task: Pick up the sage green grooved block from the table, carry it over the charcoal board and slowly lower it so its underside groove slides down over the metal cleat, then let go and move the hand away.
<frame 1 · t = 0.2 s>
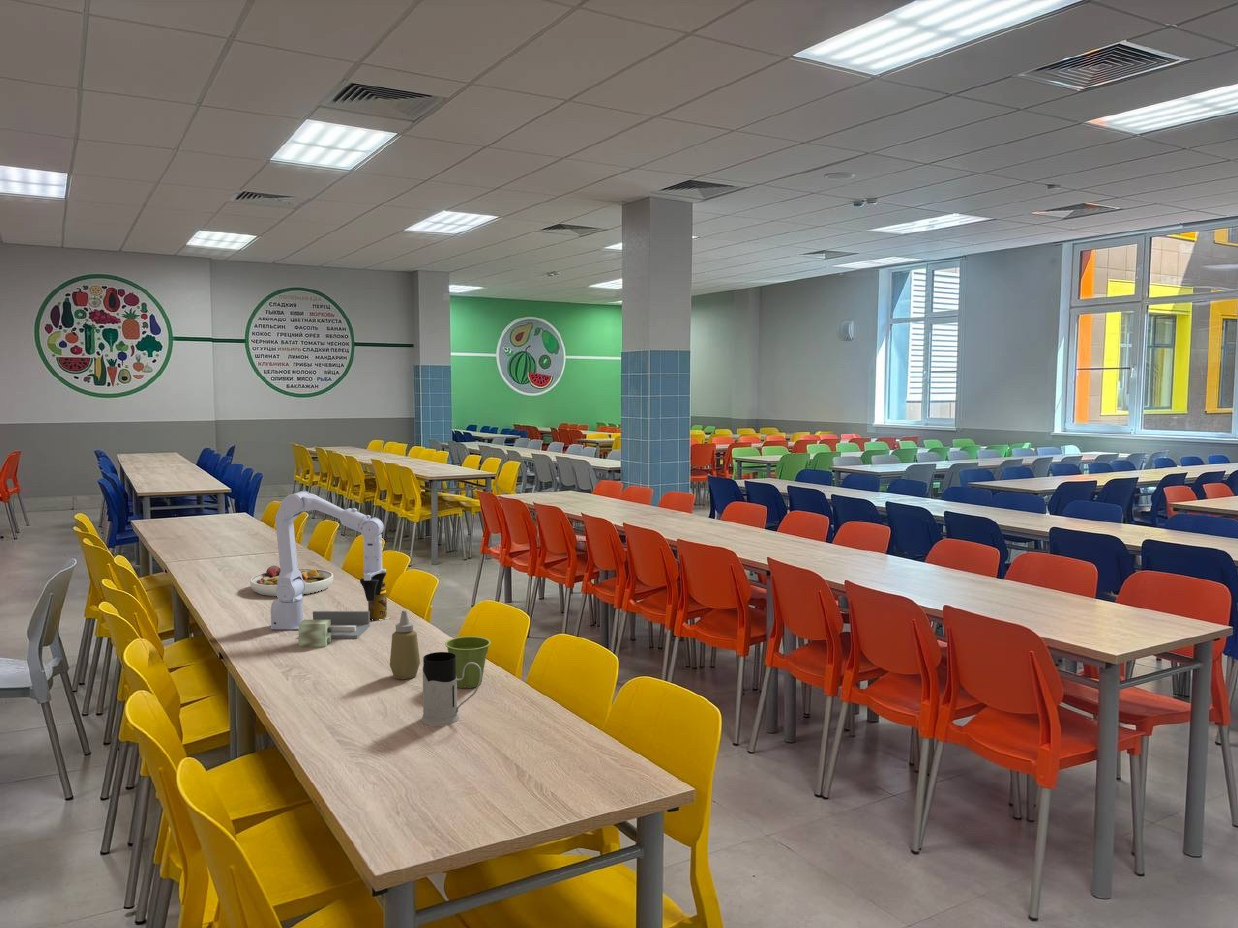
hand: (373, 597, 278), 10 cm above the table, tool pointing down, fingers open, 7 cm apart
condiment: (375, 618, 291), on the table
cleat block: (315, 644, 261), on the table
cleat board: (335, 632, 274), on the table
bowl: (292, 590, 332), on the table
plant pot: (468, 684, 227), on the table
squeeze bottle: (405, 677, 232), on the table
glass holder: (451, 719, 203), on the table
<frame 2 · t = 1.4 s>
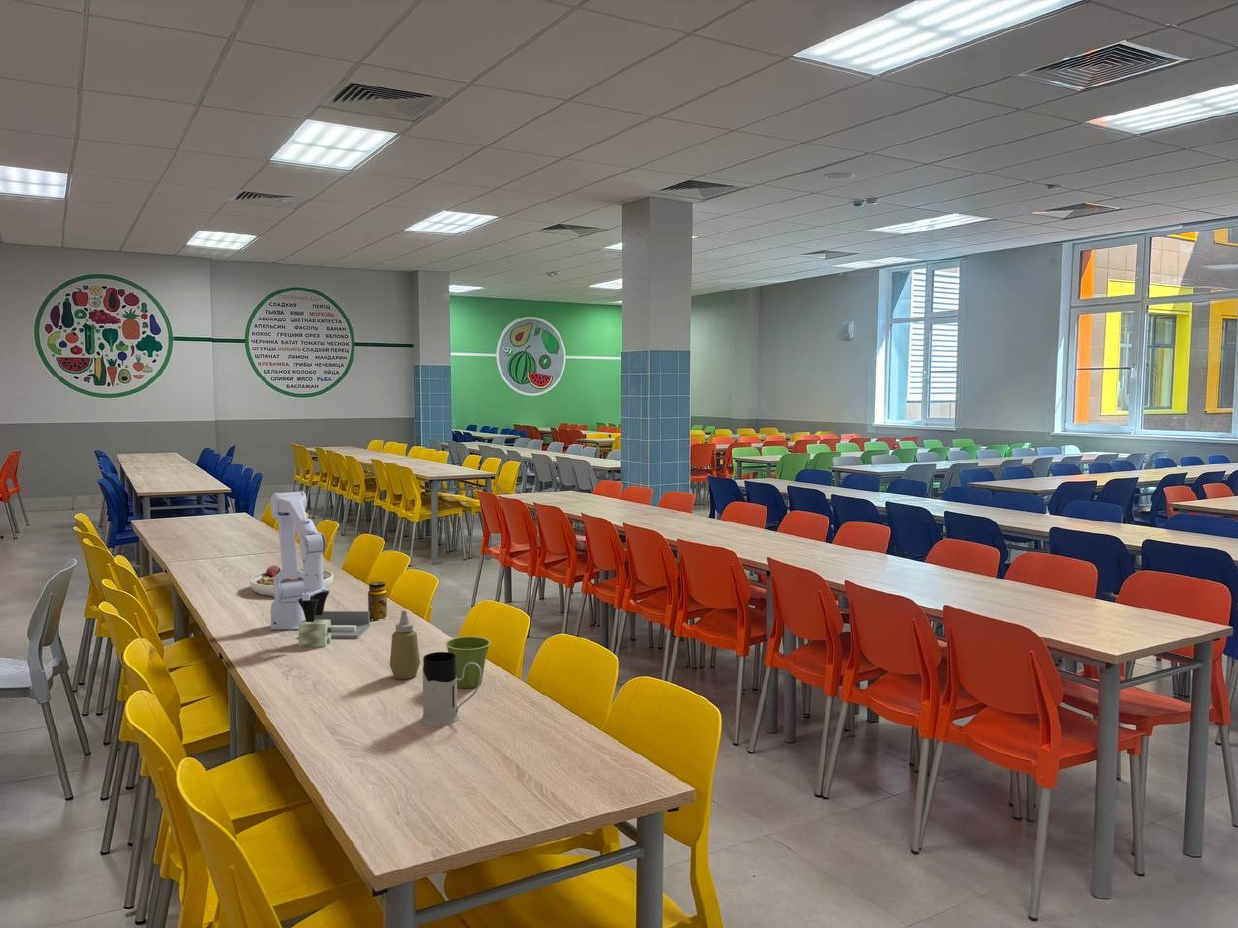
hand: (314, 618, 260), 8 cm above the table, tool pointing down, fingers open, 7 cm apart
nothing on the table moved.
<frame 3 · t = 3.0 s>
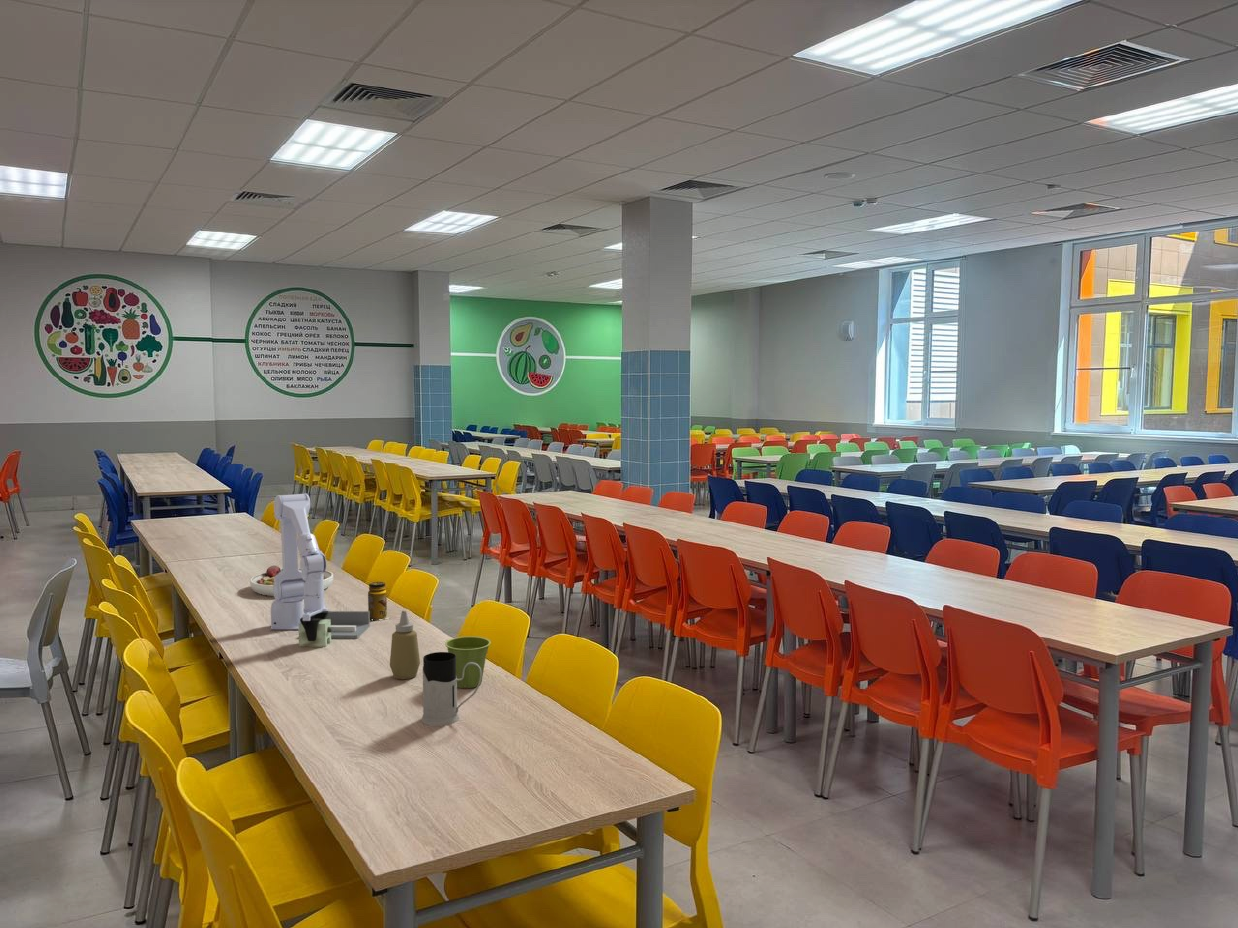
hand: (315, 637, 261), 2 cm above the table, tool pointing down, fingers closed on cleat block, 5 cm apart
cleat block: (315, 644, 261), on the table, touching gripper
everything else where it was.
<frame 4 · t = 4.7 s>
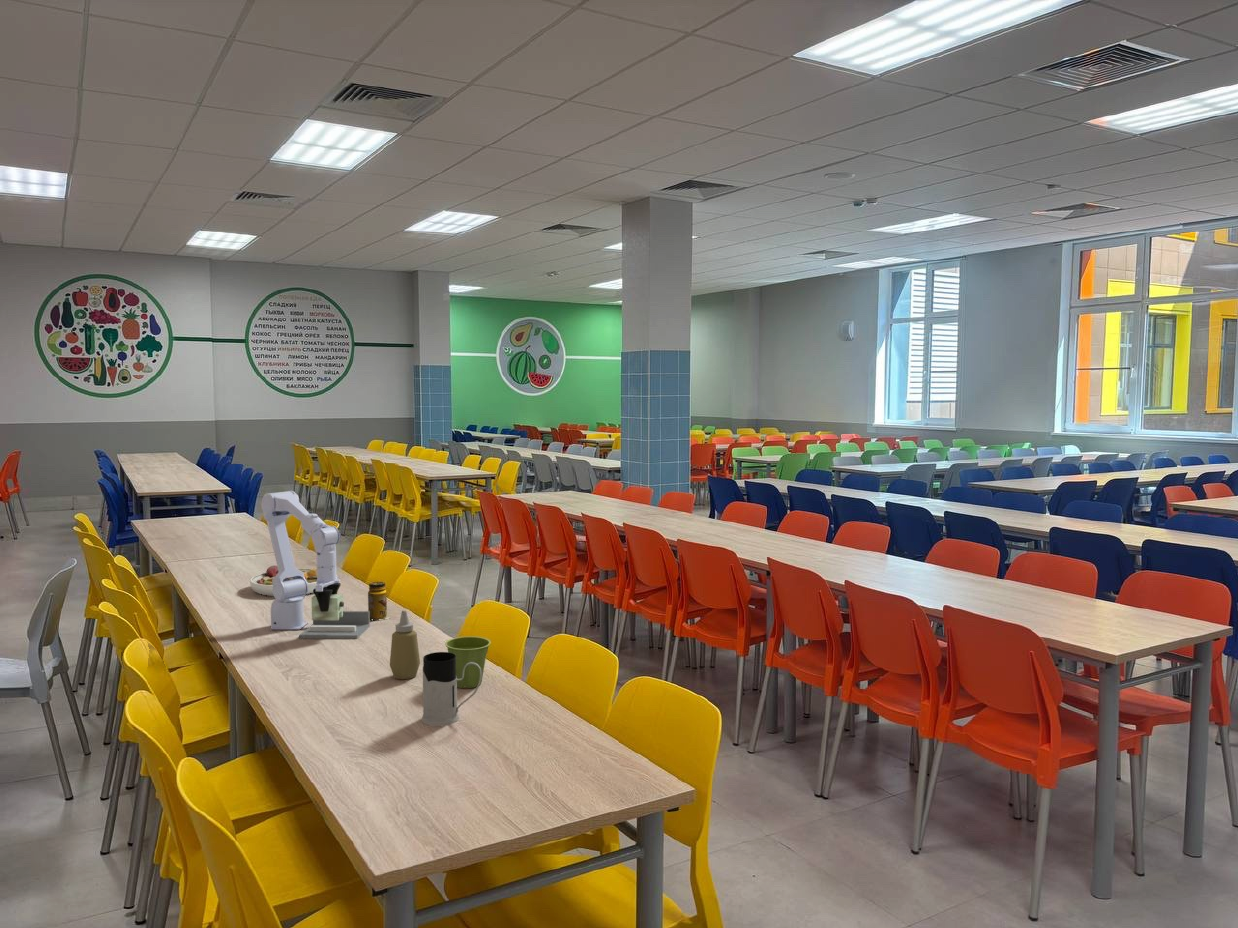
hand: (327, 608, 268), 9 cm above the table, tool pointing down, fingers closed on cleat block, 5 cm apart
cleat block: (327, 618, 268), point 6 cm above the table, touching gripper
everything else where it was.
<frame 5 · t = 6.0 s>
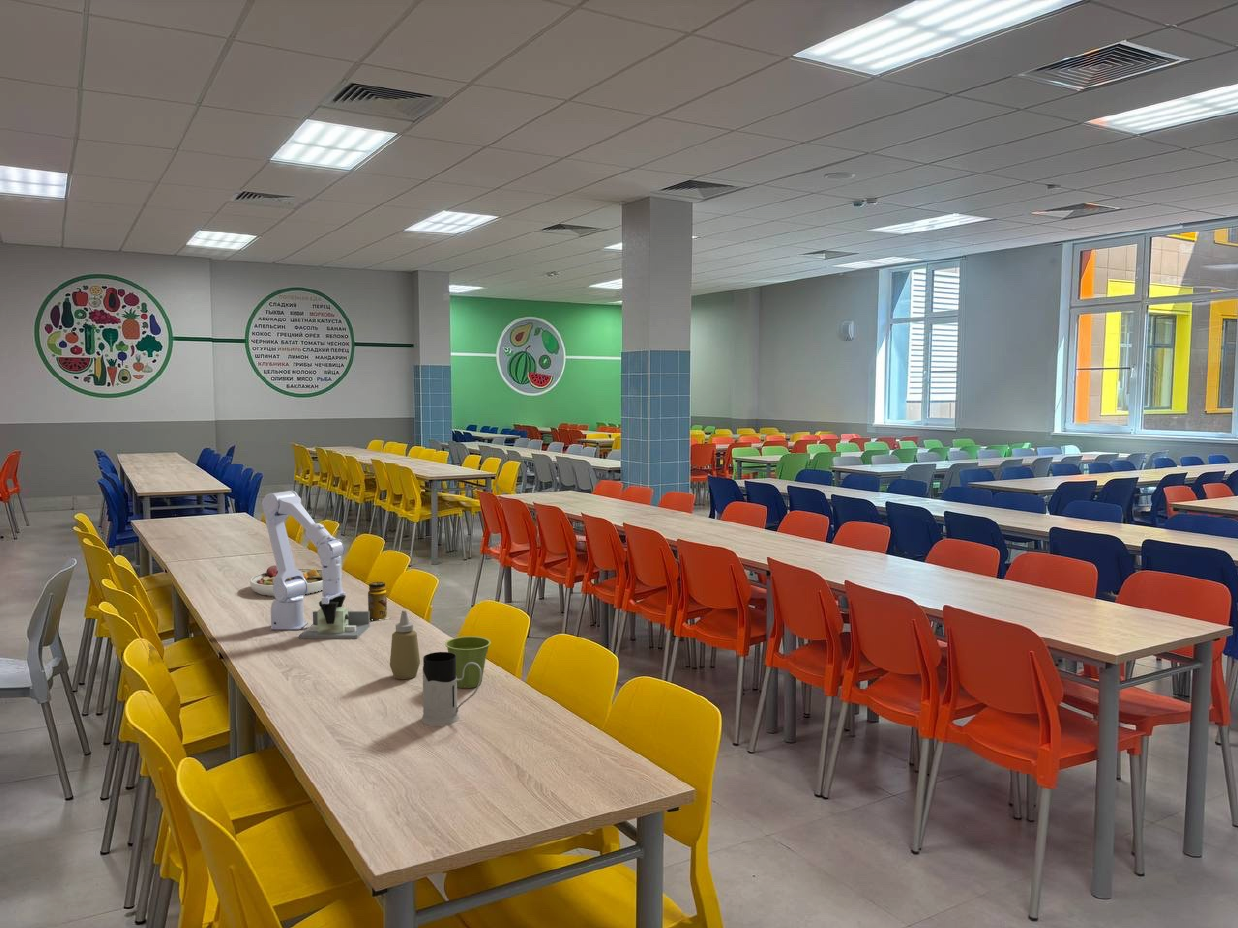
hand: (333, 620, 271), 4 cm above the table, tool pointing down, fingers closed on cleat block, 5 cm apart
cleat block: (333, 630, 272), point 1 cm above the table, touching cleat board, gripper
everything else where it was.
when the fingers open (4 cm above the table, at t = 6.6 s): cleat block stays where it is, resting on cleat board.
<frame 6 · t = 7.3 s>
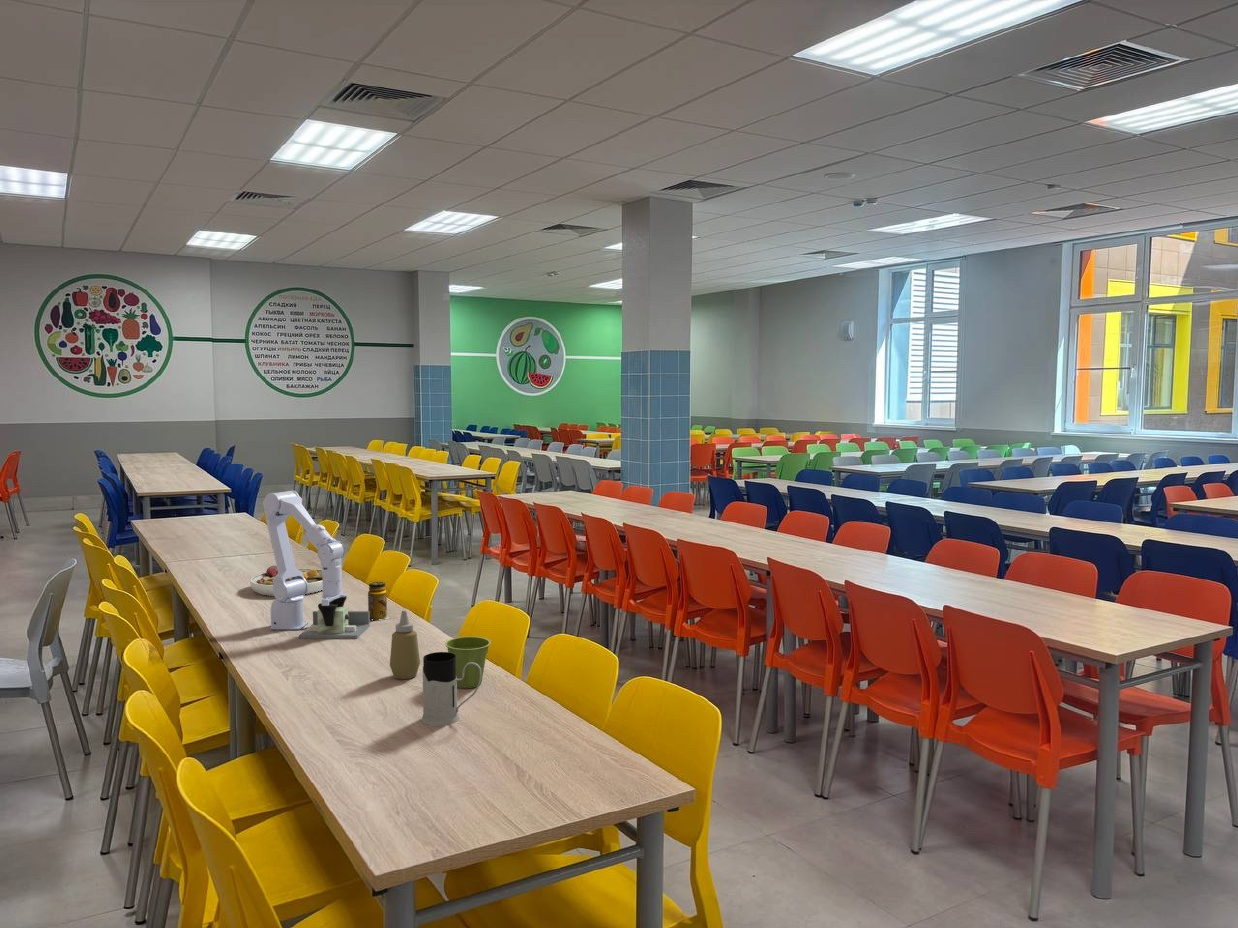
hand: (333, 622, 271), 4 cm above the table, tool pointing down, fingers open, 7 cm apart
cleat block: (333, 630, 272), point 1 cm above the table, touching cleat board
everything else where it was.
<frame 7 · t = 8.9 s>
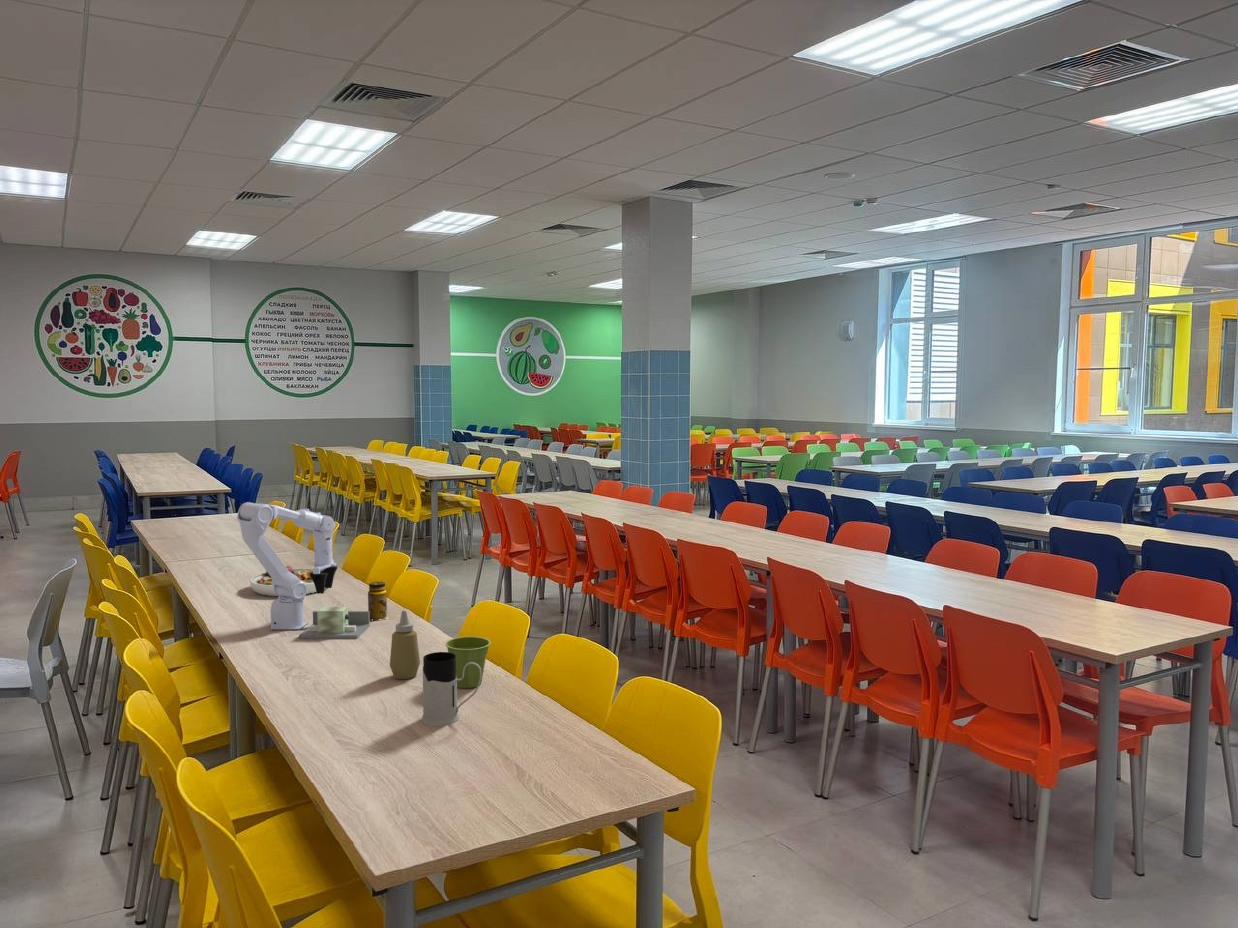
hand: (324, 590, 289), 9 cm above the table, tool pointing down, fingers open, 7 cm apart
nothing on the table moved.
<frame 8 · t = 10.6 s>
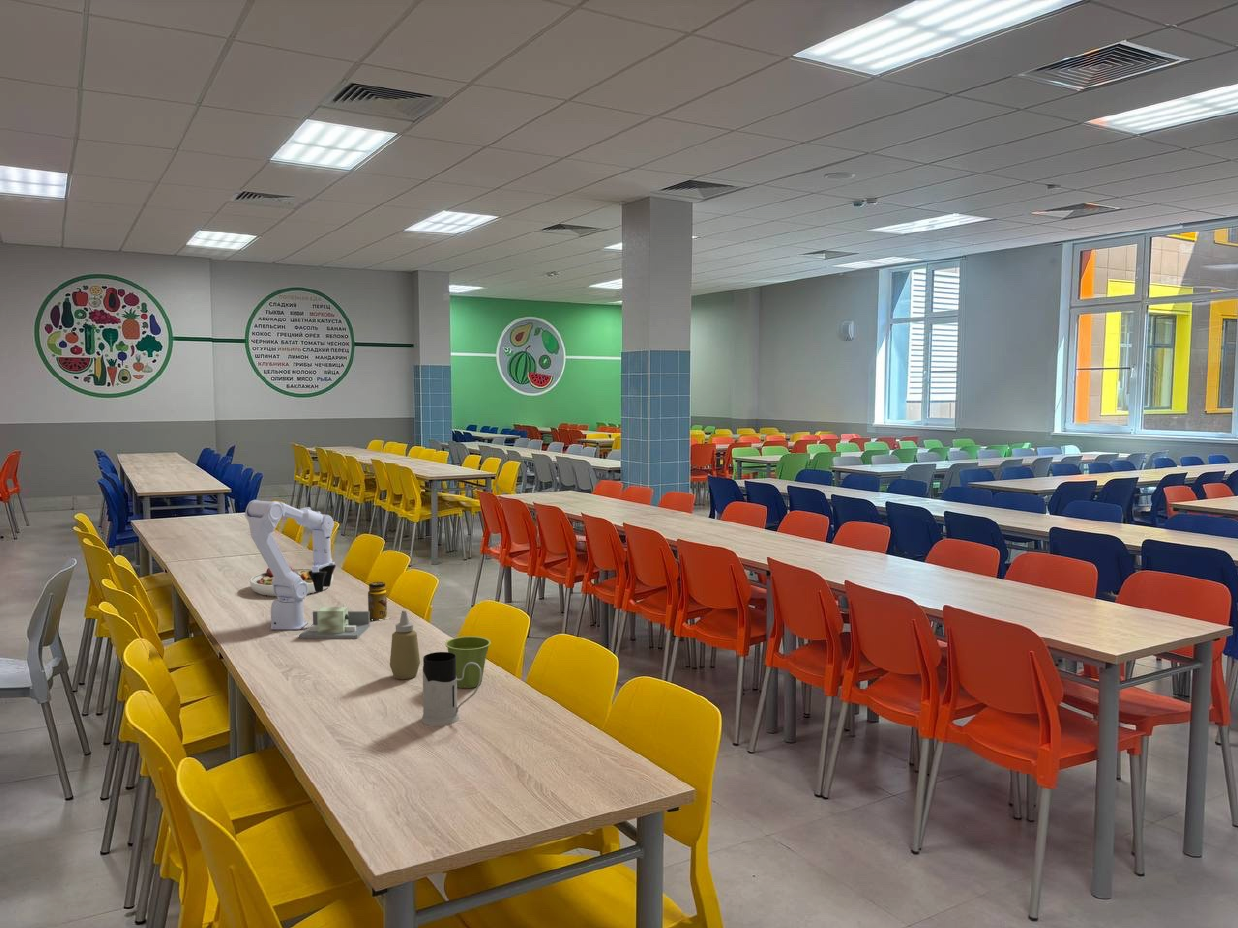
hand: (322, 589, 292), 9 cm above the table, tool pointing down, fingers open, 7 cm apart
nothing on the table moved.
at the end: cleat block inside the target area on the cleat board (0.0 cm from its centre), point 1.0 cm above the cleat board's base; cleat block tilted 0°; the gripper is holding nothing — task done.
